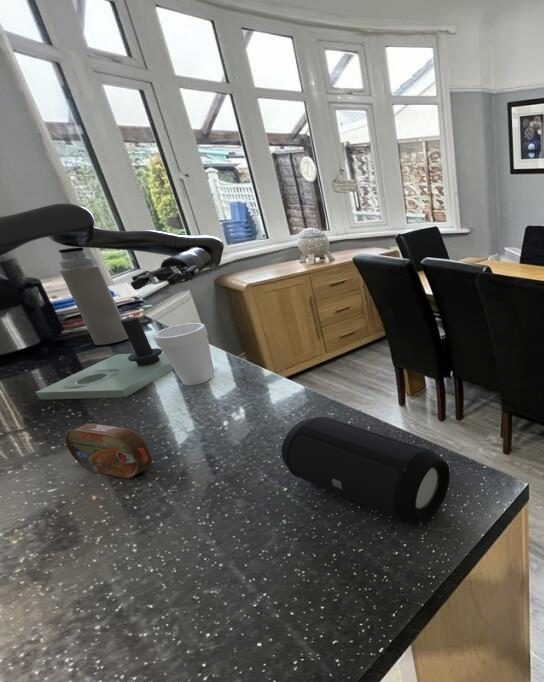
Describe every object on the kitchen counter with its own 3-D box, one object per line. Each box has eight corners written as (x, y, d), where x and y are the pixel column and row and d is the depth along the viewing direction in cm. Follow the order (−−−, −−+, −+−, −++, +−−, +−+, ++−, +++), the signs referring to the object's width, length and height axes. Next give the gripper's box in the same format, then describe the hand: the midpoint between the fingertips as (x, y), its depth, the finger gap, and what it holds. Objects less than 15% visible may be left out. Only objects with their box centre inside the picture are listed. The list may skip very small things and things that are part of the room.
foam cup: (167, 391, 91) (144, 340, 86) (185, 373, 99) (165, 325, 94) (214, 384, 93) (194, 334, 88) (227, 367, 102) (210, 320, 96)
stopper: (124, 368, 98) (103, 324, 94) (147, 357, 104) (128, 315, 100) (150, 367, 98) (130, 323, 94) (171, 356, 104) (153, 314, 100)
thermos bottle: (95, 342, 121) (51, 250, 111) (129, 334, 126) (90, 246, 117) (94, 347, 115) (48, 250, 106) (130, 339, 121) (89, 246, 111)
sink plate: (39, 399, 89) (35, 392, 89) (119, 360, 108) (116, 354, 107) (125, 397, 89) (122, 389, 88) (191, 358, 108) (189, 351, 107)
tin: (77, 469, 67) (52, 428, 64) (99, 457, 70) (76, 417, 67) (143, 482, 64) (121, 440, 60) (163, 469, 67) (143, 428, 63)
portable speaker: (285, 487, 62) (267, 435, 58) (335, 449, 70) (323, 401, 66) (415, 545, 52) (404, 487, 48) (456, 493, 60) (450, 439, 56)
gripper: (151, 257, 116) (114, 274, 102) (204, 251, 118) (174, 267, 104) (163, 281, 119) (129, 300, 105) (214, 275, 121) (187, 293, 107)
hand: (152, 284), depth 105 cm, fingers open, 8 cm apart
